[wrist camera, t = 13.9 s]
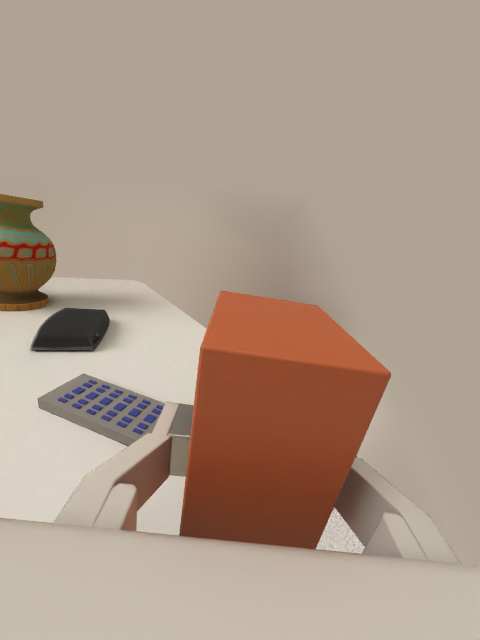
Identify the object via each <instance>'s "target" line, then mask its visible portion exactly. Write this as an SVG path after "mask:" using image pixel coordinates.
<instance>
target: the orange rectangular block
mask: <svg viewBox="0 0 480 640" xmlns="http://www.w3.org/2000/svg"><path fill="white" fill-rule="evenodd" d="M390 377H391V373H390V372H389V371H388V370H387V369H386V368H385V367H384V366H383V365H382V364H381V363H380V362H378V361H377V360H376V359H375V358H374V357H373V356H372V355H371V354H370V353H369V352H368V351H366V350H365V349H364V348H363V347H362V346H361V345H360V344H359V343H358V342H357V341H356V340H355V339H353V338H352V337H351V336H350V335H349V334H348V333H347V332H346V331H345V330H344V329H342V328H341V327H340V326H339V325H338V324H337V323H336V322H335V321H334V320H332V318H331V317H329V316H328V315H327V314H326V313H325V312H324V311H323V310H322V309H321V308H320V307H318V306H317V305H310V304H304V303H298V302H291V301H284V300H278V299H272V298H265V297H259V296H252V295H246V294H239V293H232V292H227V291H221V292H220V294H219V297H218V299H217V302H216V305H215V308H214V311H213V314H212V316H211V319H210V322H209V325H208V328H207V331H206V333H205V336H204V339H203V342H202V345H201V347H200V356H199V365H198V373H197V382H196V391H195V400H194V409H193V418H192V427H191V436H190V445H189V454H188V462H187V471H186V480H185V489H184V498H183V507H182V516H181V525H180V534H179V536H187V537H197V538H207V539H217V540H227V541H237V542H246V543H256V544H266V545H276V546H286V547H296V548H307V549H316V547H317V544H318V542H319V540H320V537H321V535H322V533H323V531H324V528H325V526H326V524H327V521H328V519H329V517H330V514H331V512H332V510H333V508H334V505H335V503H336V501H337V498H338V496H339V494H340V492H341V489H342V487H343V485H344V482H345V480H346V478H347V475H348V473H349V471H350V469H351V466H352V464H353V462H354V459H355V457H356V455H357V452H358V450H359V448H360V446H361V443H362V441H363V439H364V436H365V434H366V431H367V430H368V427H369V425H370V423H371V420H372V418H373V416H374V414H375V411H376V409H377V407H378V404H379V402H380V400H381V397H382V395H383V393H384V390H385V388H386V386H387V383H388V381H389V379H390Z"/></svg>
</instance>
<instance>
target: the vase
mask: <svg viewBox="0 0 480 640" xmlns="http://www.w3.org/2000/svg"><path fill="white" fill-rule="evenodd" d="M39 208H43V202H42V201H38V200H32V199H26V198H20V197H14V196H8V195H2V194H0V310H4V311H21V310H31V309H36V308H41V307H44V306H46V305H48V303H49V298H48V296H47V295H46V294H44V293H41V292H39V291H38V289H39V288H40V287H41V286H43V285H44V284H45V283H46V282H47V281H48V280H49V279H50V278H51V276H52V274H53V273H54V271H55V266H56V252H55V248H54V245H53V243H52V241H51V240H50V239H49V238H48V237H47V236H46V235H45V234H44V233H42V232H41V231H39V230H38V229H37V228H36V227H34V226H33V224H32V223H31V220H30V213H31V212H32V211H33V210H36V209H39Z"/></svg>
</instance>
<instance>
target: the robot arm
mask: <svg viewBox="0 0 480 640" xmlns="http://www.w3.org/2000/svg"><path fill="white" fill-rule="evenodd" d="M193 409H194V406H193V405H186V404H178V403H172V402H167V403H166V404H165V405H164V407H163V410H162V412H161V414H160V416H159V418H158V421H157V423H156V425H155V427H154V430H153V432H152V434H151V433H147V434H146V435H144V436H143V437H141V438H140V439H138V440H137V441H135V442H134V443H133V444H131V445H130V446H128V447H127V448H125V449H124V450H122V451H121V452H119V453H118V454H117V455H115V456H114V457H112V458H111V459H109V460H108V461H106V462H105V463H103V464H102V465H101V466H99V467H98V468H96V469H95V470H93V471H92V472H90V473H89V474H87V475H86V476H84V477H83V478H82V480H81V481H80V483H79V484H78V486H77V487H76V489H75V491H74V492H73V494H72V495H71V497H70V498H69V500H68V501H67V503H66V504H65V506H64V507H63V509H62V510H61V512H60V513H59V515H58V516H57V518H56V520H55V521H54V523H46V522H36V521H26V520H16V519H6V518H0V640H480V566H478V565H468V564H462V563H461V562H460V560H459V559H458V558H457V556H456V555H455V553H454V551H453V550H452V548H451V547H450V546H449V544H448V543H447V541H446V540H445V538H444V537H443V535H442V534H441V532H440V531H439V529H438V528H437V526H436V525H435V523H434V522H433V520H432V519H431V517H430V516H429V515H428V514H427V513H425V512H424V511H423V510H422V509H421V508H420V507H418V506H417V505H416V504H415V503H414V502H412V501H411V500H410V499H409V498H408V497H406V496H405V495H404V494H403V493H402V492H400V491H399V490H398V489H397V488H396V487H395V486H393V485H392V484H391V483H390V482H389V481H387V480H386V479H385V478H384V477H383V476H381V475H380V474H379V473H378V472H377V471H375V470H374V469H373V468H372V467H371V466H369V465H368V464H367V463H366V462H365V461H364V460H362V459H359V458H357V456H356V457H355V459H354V462H353V464H352V466H351V469H350V471H349V473H348V475H347V478H346V480H345V482H344V485H343V487H342V489H341V492H340V494H339V496H338V498H337V501H336V503H335V505H334V507H335V508H336V509H337V511H338V512H339V513H340V515H341V516H342V517H343V519H344V520H345V521H346V523H347V524H348V525H349V527H350V528H351V529H352V530H353V532H354V533H355V534H356V536H357V537H358V538H359V540H360V541H361V542H362V544H363V545H364V546H365V549H364V551H363V552H362V554H357V553H347V552H337V551H327V550H317V549H307V548H296V547H286V546H276V545H266V544H256V543H246V542H237V541H227V540H217V539H207V538H197V537H187V536H177V535H167V534H157V533H147V532H137V531H136V521H137V511H138V510H139V509H140V508H141V507H142V505H143V504H144V503H145V502H146V501H147V500H148V499H149V498H150V497H151V496H152V494H153V493H154V492H155V491H156V490H157V489H158V488H159V487H160V486H161V485H162V483H163V482H164V481H165V480H166V479H167V478H168V477H169V475H174V476H186V471H187V462H188V454H189V445H190V436H191V427H192V418H193Z"/></svg>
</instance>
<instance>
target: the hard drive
mask: <svg viewBox="0 0 480 640" xmlns="http://www.w3.org/2000/svg"><path fill="white" fill-rule="evenodd" d="M109 321H110V319H109V317H108V315H107V313H106V311H105V310H96V309H76V308H64V309H62V310H60V311H58V312H56V313H55V314H53V315H52V316H50V317H49V318H48V319H47V320H46V321H45V322H44V323H43V324H42V325H41V326H40V328H39V329H38V331H37V333H36V335H35V337H34V339H33V342H32V344H31V347H30V350H93V349H94V348H95V347H96V346H97V345H98V343H99V342H100V341H101V339H102V338H103V336H104V334H105V332H106V330H107V328H108V325H109Z"/></svg>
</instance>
